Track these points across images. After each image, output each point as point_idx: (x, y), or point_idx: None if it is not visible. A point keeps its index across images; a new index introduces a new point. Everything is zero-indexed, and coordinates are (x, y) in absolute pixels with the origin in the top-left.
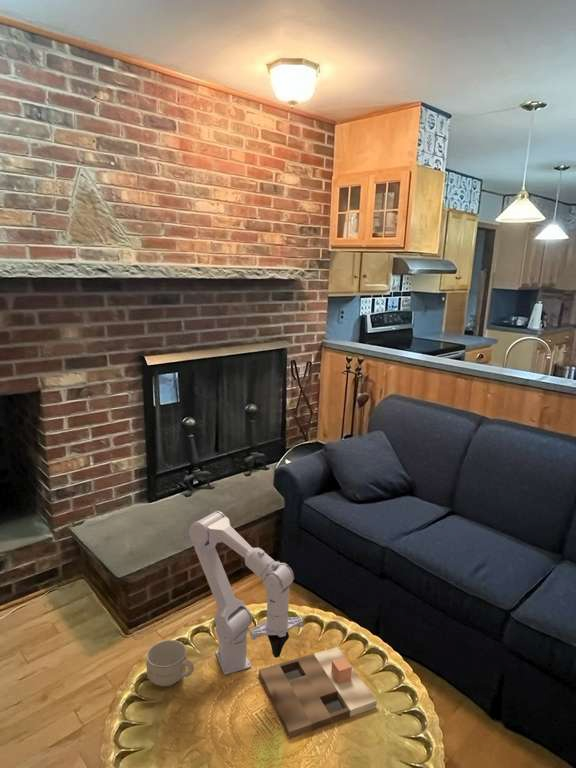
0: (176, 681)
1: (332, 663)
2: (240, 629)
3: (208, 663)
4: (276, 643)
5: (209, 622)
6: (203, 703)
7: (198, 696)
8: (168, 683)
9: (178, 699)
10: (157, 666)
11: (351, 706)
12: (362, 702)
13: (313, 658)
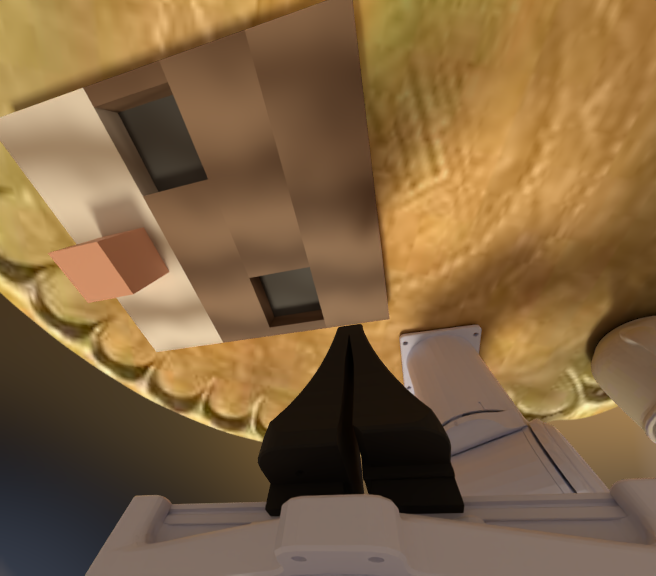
0: (651, 320)
1: (137, 286)
2: (503, 478)
3: (502, 361)
4: (376, 396)
5: None
6: (583, 242)
7: (583, 270)
8: None
9: (647, 269)
10: None
11: (81, 109)
12: (40, 122)
13: (223, 328)
